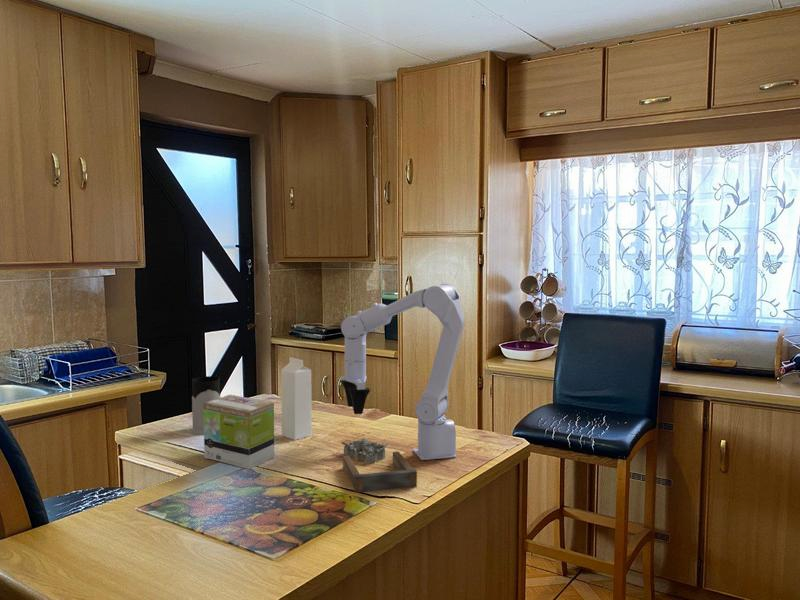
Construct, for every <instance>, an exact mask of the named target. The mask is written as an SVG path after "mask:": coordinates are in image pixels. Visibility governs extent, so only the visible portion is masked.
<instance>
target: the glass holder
mask: <svg viewBox="0 0 800 600" xmlns="http://www.w3.org/2000/svg"><path fill="white" fill-rule="evenodd" d="M220 379H221V378H220V377H218V376H214V375H213V376H210V375H209V376H199V377H195V378H192V380H191V382H192V384H191V385H192V386H191V387H192V396H191V403H192V404H191V410H192V411H191V412H192V413H191V415H192V427H191V431H190V432H191V434H194V435H197V436H198V435H199V436H204V412H203V408H204V407H203V403H206V402H209V401H212V400H215V399H219V398H221V396H222V395H221V387H220V385H221V384H220Z"/></svg>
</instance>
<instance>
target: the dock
mask: <svg viewBox="0 0 800 600" xmlns="http://www.w3.org/2000/svg"><path fill="white" fill-rule="evenodd" d="M351 458H352V457H350V456H345V455H342V469H343V471H344V473H345V475H346V477H347V479H348V481H349V483H350V484H351V487H352V488H353V490H354V492H355V493H366V492H367V493H369V492H377V491H387V490H398V489H406V488H417V486H418V483H417V482H418V471H417V470H416V469H415V468H413V467H412V465H410V463H409V462H408V461H407V459H406V458H405V457H404V456H403V455H402V454H401V453H400V452H399V451H392V465H393V466H394V467H395V469H396V470H392V471H383V472H371V473H370V472H369V473H360V472H359V470H358V469H357V467H356V466H355V464H354V462H353V460H352V459H351Z"/></svg>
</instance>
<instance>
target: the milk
mask: <svg viewBox="0 0 800 600" xmlns="http://www.w3.org/2000/svg"><path fill="white" fill-rule="evenodd" d="M288 362H289V363H287V364H286V365H285V366H284V367H283V368H282V369H281V372H280V374H281V381H280V382H281V383H280V384H281V385H280V387H281V436H282V437H284V436H285V438H287V439H290V440H293V441H297V439H298V440H301V439H305V438H308V437H311V436H313V435H312V369H310V368H308V367H306V366H305V365H304V360H303V359H299V358H295V357H289V361H288ZM310 435H311V436H310ZM307 436H308V437H307ZM304 437H305V438H304Z"/></svg>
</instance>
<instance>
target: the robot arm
mask: <svg viewBox="0 0 800 600" xmlns="http://www.w3.org/2000/svg"><path fill="white" fill-rule="evenodd" d="M370 305H371V306H370V307H369V308H367V309H364V310H363V311H362V310H359V311H356V314H355V315H352V316H347V317H346V318H344V319H343V321H342V322H341V326H340V330H341V334H342V335H343V336H344V375H341V376H339V380H341V381H340V382H341V385H342V386H343V389H344V393H345V396H346V404H347V406H348V407H352V410H353V413H354V415H362V414H363V412H364V408H365V403H366V400H367V397H368V395H369V393H370V392H371V388H369V387H366V381H367V380H368V379H367V377H368V376H367V334H368V333H371V332H372V331H375V330H377V329H379V328H381V327H384V326H386V325H389V324H390V323H391V321H392V319H393V317H395V316H396V315H399V314H401V313H404V312H407V311H408V310H411V309H412V308H415V307H417V308H422V309H423V308H426V309H427V310H429V312H431V313H432V314H433V315H435V316H436V317H437V318H438V320H439V322H441V324H442V330H441V333H440V337H439V341H438V344H437V349H436V352H435V355H434V360H433V364H432V367H431V371H430V374H429V379H428V382H427V385H426V386H425V388H424V390H423V392H422V396H421V398H420V399H419V401H418V402H417V403H416V404H415V407H414V414H415V416H416V418H417V447H415V448H412V451H413V452H414V454H415V455H416V456H417V457H418V458H419V459H420V460H421V461H425V460H426V461H427V460H436V459H437V460H439V459H451V458H457V454H456V452H457V451H456V448H457V447H456V444H457V443H456V440H457V432H456V431H457V430H456V424H455V422H454V421H453V419H447V417H446V414H445V413H446V412H447V411H448V410H449V406H450V404H449V403H450V402H449V393H450V391H449V386H448V385H449V382H450V379H451V376H452V371H453V368H454V365H455V361H456V357H457V353H458V350H459V346H460V343H461V339H462V334H463V332H464V327H465V325H466V324H465V323H466V319H465V315H464V312H463V308H462V304H461V295H460V294H459V292H458V291H457V289H455V287H453V286H452V285H451V284H448V283H441V284H439V285H432V286H429V287H427V288H423V289H420V290H416V291H413V292H411V293H409V294H407V295H405V296H404V297H401V298H400V299H398V300H395V301H394V302H392V303H390V304H384V303H377V302H375V303H373V304H370Z"/></svg>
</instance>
